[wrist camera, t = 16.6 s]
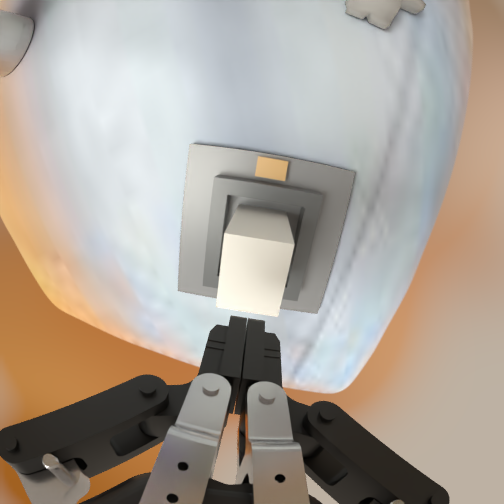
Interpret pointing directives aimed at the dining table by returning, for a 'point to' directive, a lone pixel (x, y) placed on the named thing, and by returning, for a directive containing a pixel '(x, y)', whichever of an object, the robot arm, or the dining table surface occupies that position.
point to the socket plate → (266, 196)
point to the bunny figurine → (381, 10)
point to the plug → (255, 260)
